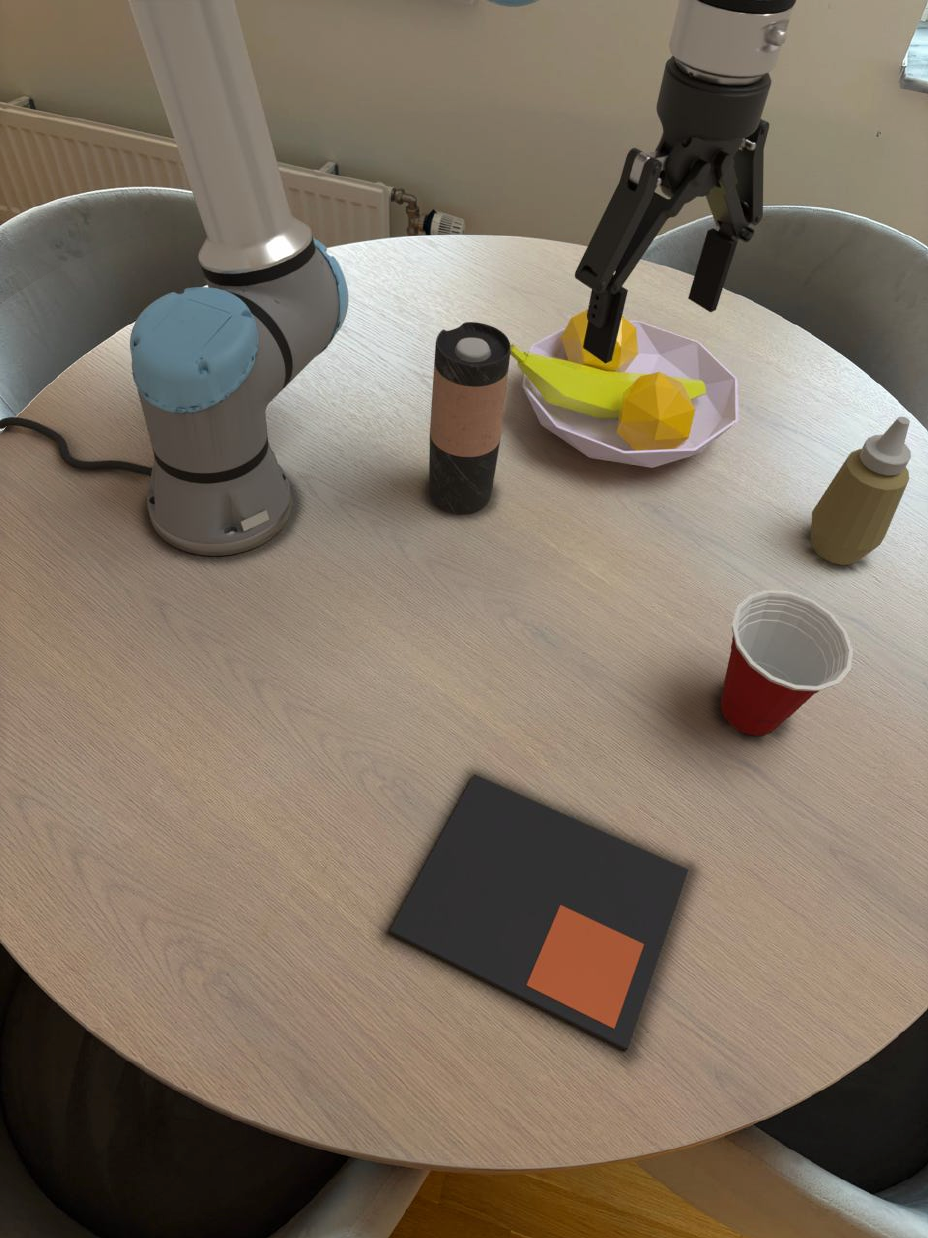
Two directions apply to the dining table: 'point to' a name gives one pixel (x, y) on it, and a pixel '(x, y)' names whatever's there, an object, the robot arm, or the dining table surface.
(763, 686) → the plastic cup
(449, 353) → the travel mug
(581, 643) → the dining table surface
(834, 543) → the squeeze bottle
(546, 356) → the fruit bowl
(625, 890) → the mat
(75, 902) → the dining table surface
